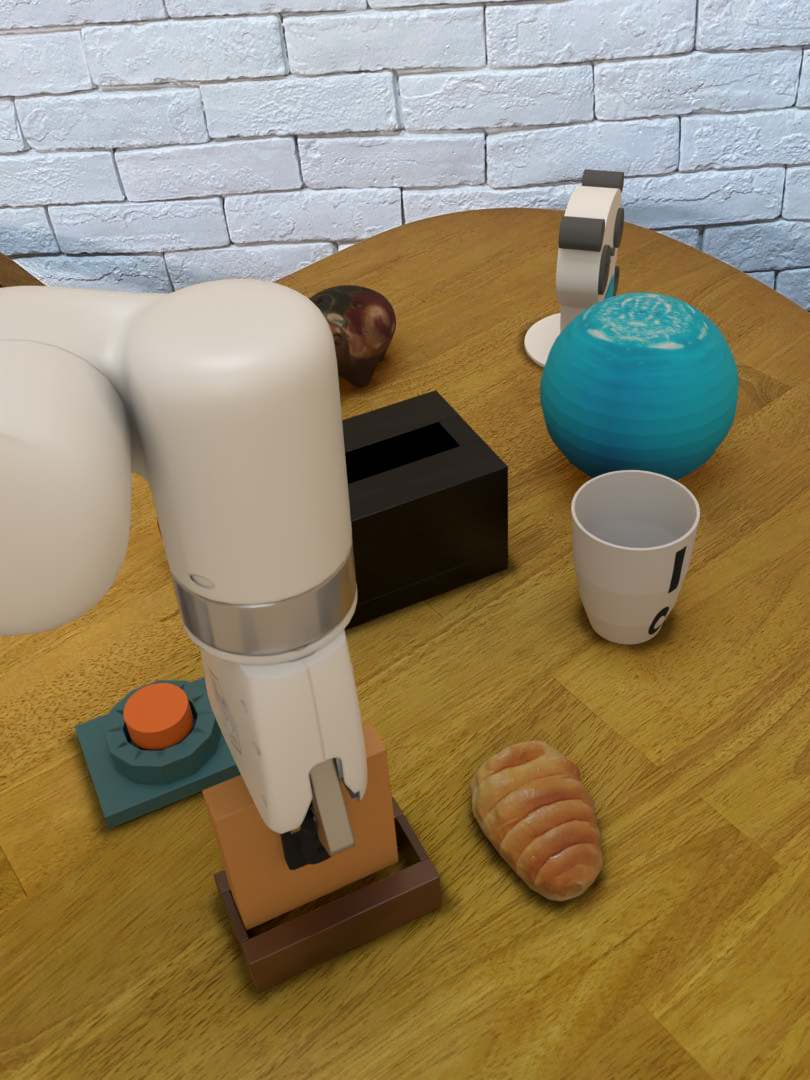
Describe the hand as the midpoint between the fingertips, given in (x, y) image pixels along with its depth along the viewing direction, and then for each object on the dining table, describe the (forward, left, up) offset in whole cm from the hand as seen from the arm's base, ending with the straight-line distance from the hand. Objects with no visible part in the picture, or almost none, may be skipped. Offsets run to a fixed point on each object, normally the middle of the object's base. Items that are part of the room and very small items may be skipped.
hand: (306, 833), depth 59 cm
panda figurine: (+45, +43, -7) cm, 62 cm away
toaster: (+16, +25, -7) cm, 30 cm away
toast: (0, 0, -5) cm, 5 cm away
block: (-4, +15, -7) cm, 17 cm away
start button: (-4, +15, -4) cm, 16 cm away
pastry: (+14, -1, -7) cm, 15 cm away
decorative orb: (+38, +25, -7) cm, 46 cm away
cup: (+28, +11, -7) cm, 30 cm away
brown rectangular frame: (+1, 0, -7) cm, 7 cm away
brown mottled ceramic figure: (+24, +51, -7) cm, 56 cm away
